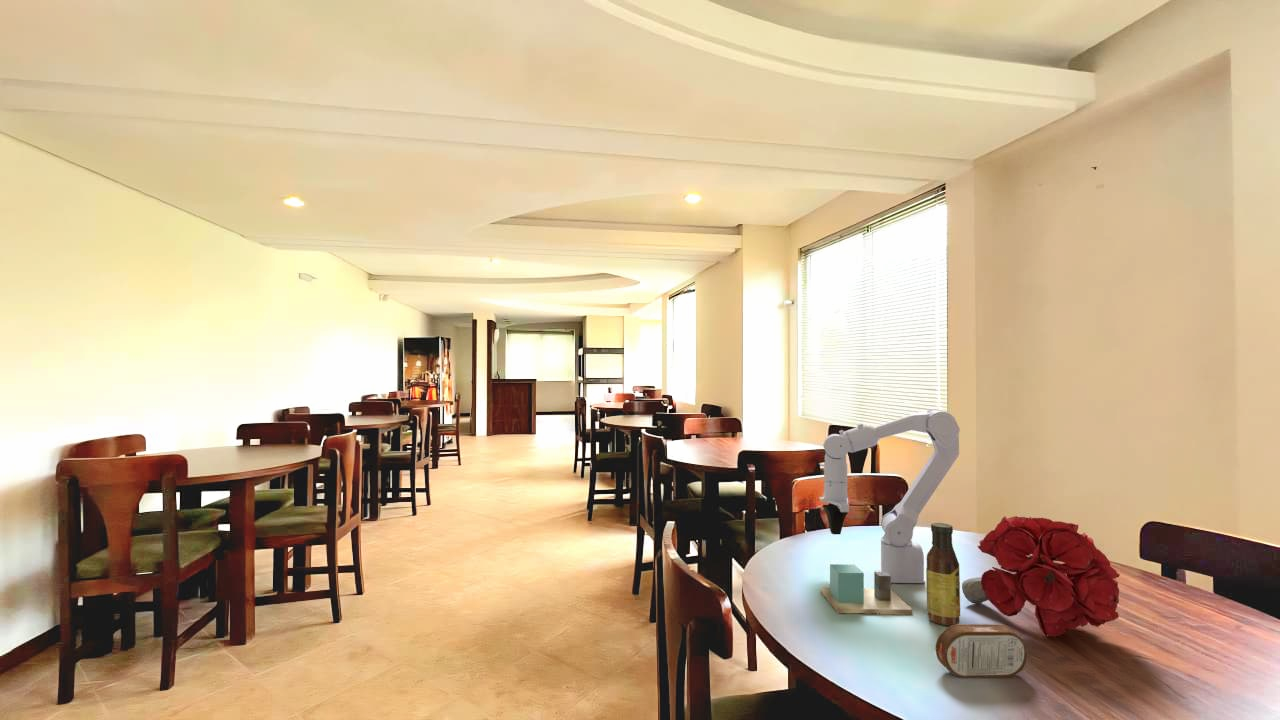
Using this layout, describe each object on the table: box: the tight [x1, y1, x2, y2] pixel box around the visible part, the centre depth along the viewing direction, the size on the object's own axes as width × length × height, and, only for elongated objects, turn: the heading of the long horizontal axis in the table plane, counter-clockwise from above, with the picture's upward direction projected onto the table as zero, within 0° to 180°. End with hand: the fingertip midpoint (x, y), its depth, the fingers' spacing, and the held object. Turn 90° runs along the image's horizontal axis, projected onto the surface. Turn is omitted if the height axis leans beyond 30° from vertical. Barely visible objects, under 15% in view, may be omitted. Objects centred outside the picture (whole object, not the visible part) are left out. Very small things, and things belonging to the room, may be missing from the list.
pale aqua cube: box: [829, 564, 865, 603], centre depth 132 cm, size 6×6×7 cm
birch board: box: [820, 571, 913, 615], centre depth 132 cm, size 16×12×6 cm
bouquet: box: [961, 515, 1121, 638], centre depth 121 cm, size 22×24×30 cm
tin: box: [934, 623, 1029, 679], centre depth 101 cm, size 15×3×8 cm, turn 92°
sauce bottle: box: [925, 522, 961, 627], centre depth 123 cm, size 6×6×20 cm
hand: (835, 533), depth 152 cm, fingers closed
